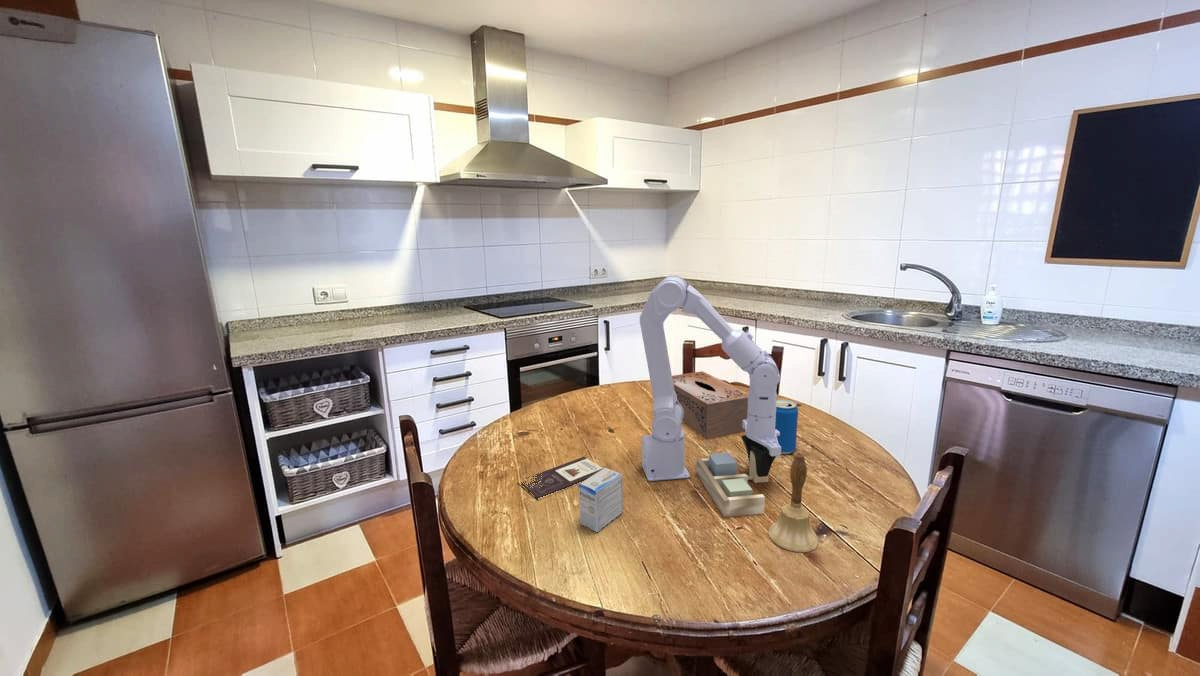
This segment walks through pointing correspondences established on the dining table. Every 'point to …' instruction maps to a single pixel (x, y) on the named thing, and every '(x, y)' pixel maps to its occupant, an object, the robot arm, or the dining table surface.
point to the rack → (724, 503)
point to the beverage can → (786, 425)
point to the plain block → (736, 487)
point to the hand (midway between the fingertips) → (758, 471)
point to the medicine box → (601, 499)
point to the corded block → (732, 466)
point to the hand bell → (795, 516)
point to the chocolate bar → (562, 477)
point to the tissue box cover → (711, 404)
